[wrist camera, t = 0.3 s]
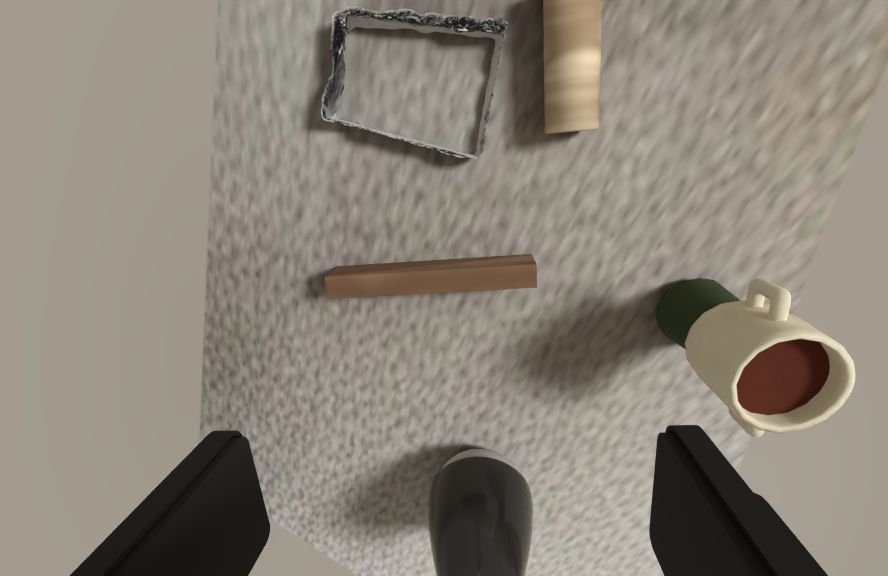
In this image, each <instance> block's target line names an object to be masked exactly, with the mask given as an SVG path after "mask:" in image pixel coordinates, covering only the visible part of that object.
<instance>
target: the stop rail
mask: <svg viewBox="0 0 888 576" xmlns="http://www.w3.org/2000/svg"><path fill="white" fill-rule="evenodd" d="M324 278H325V284H326V289H327V295H328V299H335V298H353V297H372V296H390V295H408V294H427V293H445V292H463V291H482V290H500V289H518V288H537V267H536V262H535V260H534V258H533V256H532V254H527V255H511V256H495V257H479V258H463V259H447V260H432V261H416V262H400V263H384V264H368V265H352V266H338V267H336V268H335V269H334V270H333V271H331V272H330V273H329V274H328V275H326V276H325V277H324Z"/></svg>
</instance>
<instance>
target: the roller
mask: <svg viewBox="0 0 888 576" xmlns="http://www.w3.org/2000/svg"><path fill="white" fill-rule="evenodd" d="M601 22H602V0H543V33H544V115H545V134H553V133H565V132H575V131H585V130H593V129H599V103H600V62H601Z"/></svg>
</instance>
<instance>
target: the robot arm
mask: <svg viewBox="0 0 888 576" xmlns="http://www.w3.org/2000/svg"><path fill="white" fill-rule="evenodd" d="M649 532H650V540H651V544H652V547H653V550H654V552H655V555H656V557H657V559H658V562H659V564H660V566H661V569H662V571H663V573H664V575H665V576H828V575H827V574H826V573H825V571H824V570H823V569H822V568H821V567H820V566H819V564H818V563H817V562H816V561H815V559H814V558H813V557H812V556H811V554H810V553H809V552H808V551H807V550H806V548H805V547H804V546H803V545H802V544H801V542H800V541H799V540H798V539H797V537H796V536H795V535H794V534H793V533H792V531H791V530H790V529H789V528H788V527H787V525H786V524H785V523H784V522H783V521H782V519H781V518H780V517H779V516H778V514H777V513H776V512H775V511H774V509H773V508H772V507H771V506H770V505H769V503H768V502H767V501H766V500H765V499H764V498H763V497H762V496H760V495H758V494H756V493H753V492H752V490H751V489H750V488H749V487H748V485H747V484H746V483H745V482H744V480H743V479H742V478H741V477H740V475H739V474H738V473H737V472H736V470H735V469H734V468H733V467H732V465H731V464H730V463H729V462H728V461H727V459H726V458H725V457H724V456H723V454H722V453H721V452H720V451H719V449H718V448H717V447H716V446H715V444H714V443H713V442H712V441H711V439H710V438H709V437H708V436H707V434H706V433H705V432H704V431H703V429H702V428H701V427H699V426H697V425H670V426H668V427H667V429H666V432H665V433H659V435H658V438H657V449H656V460H655V472H654V483H653V494H652V506H651V517H650V531H649ZM269 533H270V523H269V519H268V515H267V512H266V508H265V504H264V500H263V496H262V492H261V488H260V484H259V480H258V476H257V472H256V469H255V465H254V461H253V457H252V453H251V449H250V445H249V442H248V439H247V438H246V437H243V436H242V434H241V433H240V432H239V431H213V432H211V433H210V434H208V435H207V436H206V437H205V438H204V439H203V440H202V441H201V442H200V443H199V444H198V445H197V446H196V447H195V449H193V451H192V452H191V453H190V454H189V455H188V456H187V457H186V458H185V459H184V460H183V461H182V462H181V463H180V464H179V465H178V466H177V467H176V468H175V469H174V470H173V471H172V472H171V473H170V474H169V475H168V476H167V477H166V478H165V479H164V480H163V481H162V482H161V483H160V484H159V485H158V486H157V487H156V488H155V489H154V490H153V491H152V492H151V493H150V494H149V495H148V496H147V497H146V499H145V500H143V502H142V503H141V504H140V505H139V506H138V507H137V508H136V509H135V510H134V511H133V512H132V513H131V514H130V515H129V516H128V517H127V518H126V519H125V520H124V521H123V522H122V523H121V524H120V525H119V526H118V527H117V528H116V529H115V530H114V531H113V532H112V533H111V534H110V535H109V536H108V537H107V538H106V539H105V540H104V541H103V542H102V543H101V544H100V545H99V546H98V547H97V548H96V549H95V551H94V552H92V554H91V555H90V556H89V557H88V558H87V559H86V560H85V561H84V562H83V563H82V564H81V565H80V566H79V567H78V568H77V569H76V570H75V571H74V572H73V573H72V574H71V575H70V576H248V575H249V573H250V571H251V569H252V568H253V566H254V564H255V562H256V561H257V559H258V557H259V555H260V554H261V552H262V550H263V548H264V546H265V545H266V543H267V540H268V537H269Z"/></svg>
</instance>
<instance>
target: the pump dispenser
mask: <svg viewBox="0 0 888 576" xmlns="http://www.w3.org/2000/svg"><path fill="white" fill-rule="evenodd" d="M428 519H429V534H430V542H431V549H432V555H433V560H434V565H435V570H436V574H437V576H525V572H526V567H527V562H528V557H529V551H530V545H531V536H532V521H533V505H532V496H531V491H530V488H529V486H528V484H527V482H526V480H525V479H524V477H523V476H522V475H521V474H520V472H519V471H518V469H517V468H516V467H515V465H514V464H513V463H512V462H511V461H510V460H508V459H507V458H506V457H504V456H503V455H501V454H499V453H497V452H494V451H491V450H487V449H470V450H466V451H463V452H461V453H458V454H457V455H455V456H453V457H452V458H451V459H450V460H448V461H447V462H446V464H445V465H444V466H443V467H442V469H441V470H440V471H439V472H438V474H437V475H436V476H435V478H434V480H433V482H432V484H431V487H430V492H429V500H428Z"/></svg>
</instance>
